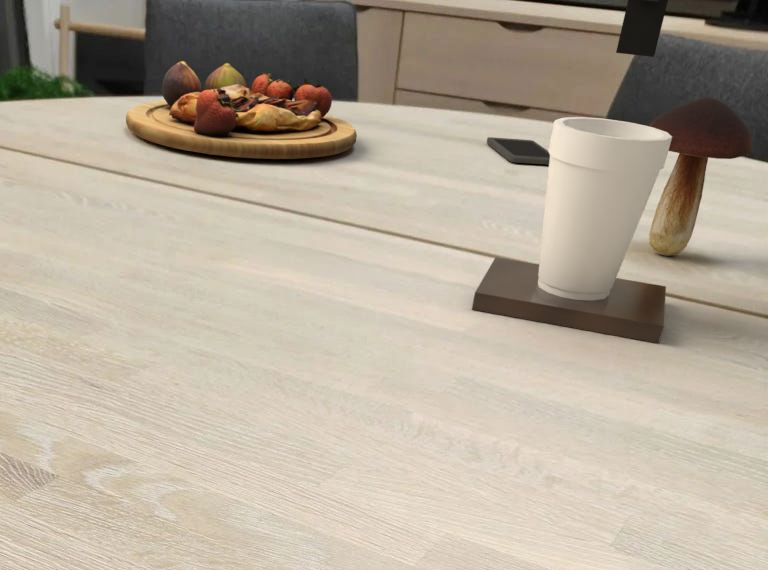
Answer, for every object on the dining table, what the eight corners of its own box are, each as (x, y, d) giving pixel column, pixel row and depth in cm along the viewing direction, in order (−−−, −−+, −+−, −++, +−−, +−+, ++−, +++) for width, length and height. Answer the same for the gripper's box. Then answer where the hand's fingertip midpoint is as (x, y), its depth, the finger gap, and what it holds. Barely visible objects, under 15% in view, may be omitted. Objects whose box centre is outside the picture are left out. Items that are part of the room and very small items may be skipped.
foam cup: (607, 314, 84) (653, 145, 76) (505, 288, 87) (539, 125, 80) (638, 288, 91) (683, 131, 83) (542, 266, 94) (576, 113, 86)
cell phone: (531, 145, 151) (532, 139, 151) (560, 165, 140) (562, 160, 140) (485, 142, 150) (486, 136, 150) (510, 162, 139) (511, 156, 139)
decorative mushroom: (671, 274, 101) (722, 109, 92) (591, 244, 108) (630, 88, 99) (738, 264, 106) (791, 107, 97) (657, 236, 113) (700, 87, 104)
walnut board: (661, 302, 93) (666, 286, 92) (658, 343, 84) (664, 325, 83) (492, 273, 96) (495, 257, 95) (471, 309, 87) (474, 292, 86)
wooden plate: (282, 177, 122) (287, 101, 117) (77, 132, 133) (74, 61, 128) (392, 143, 144) (401, 78, 140) (209, 107, 156) (211, 46, 151)
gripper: (670, -297, 76) (599, 28, 88) (667, -376, 56) (576, 56, 69) (774, -293, 74) (686, 38, 87) (807, -372, 55) (688, 68, 67)
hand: (637, 46), depth 78 cm, fingers open, 13 cm apart
